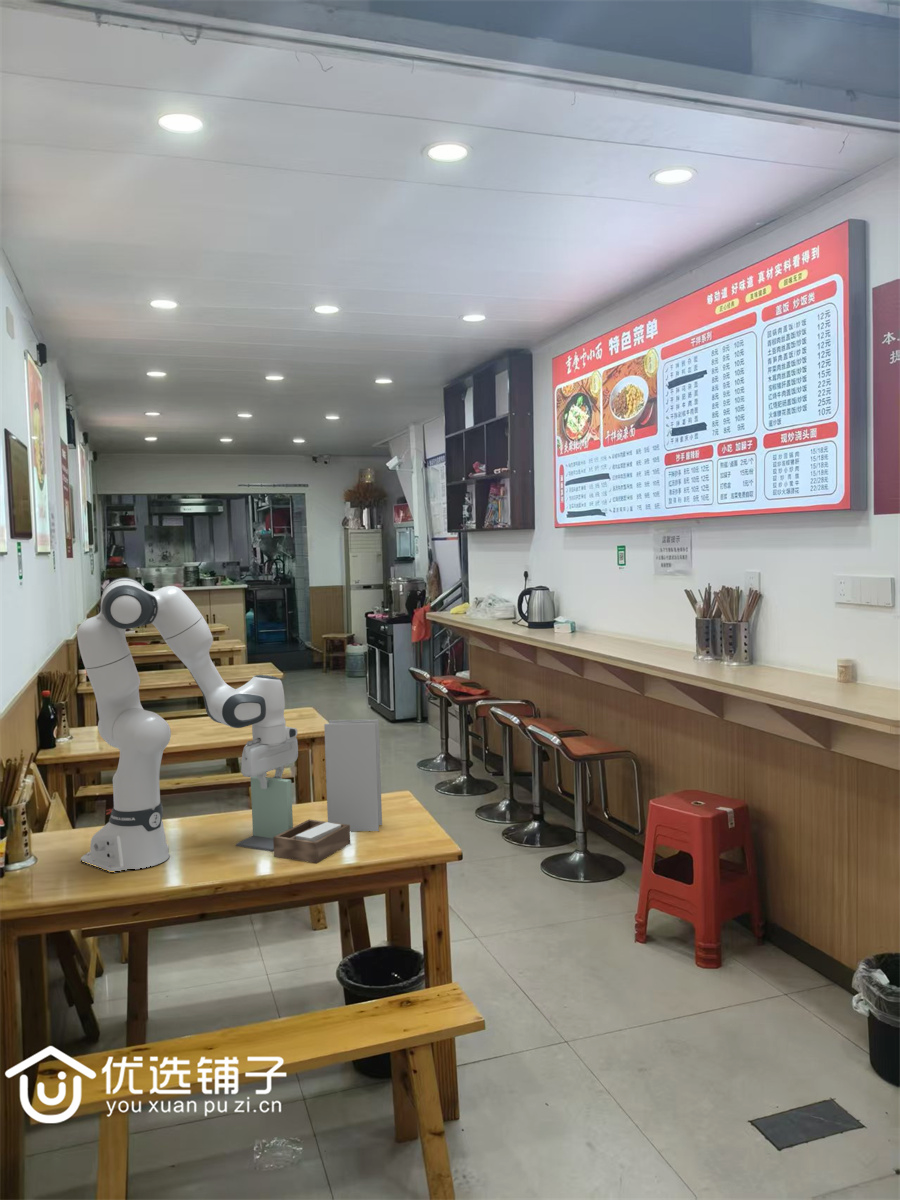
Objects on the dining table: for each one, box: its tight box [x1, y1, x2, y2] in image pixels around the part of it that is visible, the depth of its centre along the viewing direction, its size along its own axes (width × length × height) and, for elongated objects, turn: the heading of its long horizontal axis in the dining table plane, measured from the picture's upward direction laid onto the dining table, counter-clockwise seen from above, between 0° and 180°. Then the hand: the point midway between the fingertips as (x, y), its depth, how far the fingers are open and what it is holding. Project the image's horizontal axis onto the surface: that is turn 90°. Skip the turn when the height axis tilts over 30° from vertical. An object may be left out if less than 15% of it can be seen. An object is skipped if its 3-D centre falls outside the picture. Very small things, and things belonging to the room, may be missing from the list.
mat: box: [236, 835, 274, 853], centre depth 231 cm, size 12×16×1 cm
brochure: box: [323, 719, 383, 832], centre depth 237 cm, size 14×6×30 cm, turn 84°
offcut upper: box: [296, 821, 341, 842], centre depth 220 cm, size 5×12×3 cm, turn 148°
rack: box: [273, 819, 351, 864], centre depth 221 cm, size 13×16×5 cm
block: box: [250, 776, 294, 838], centre depth 230 cm, size 2×12×16 cm, turn 64°
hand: (271, 785), depth 230 cm, fingers open, 4 cm apart
